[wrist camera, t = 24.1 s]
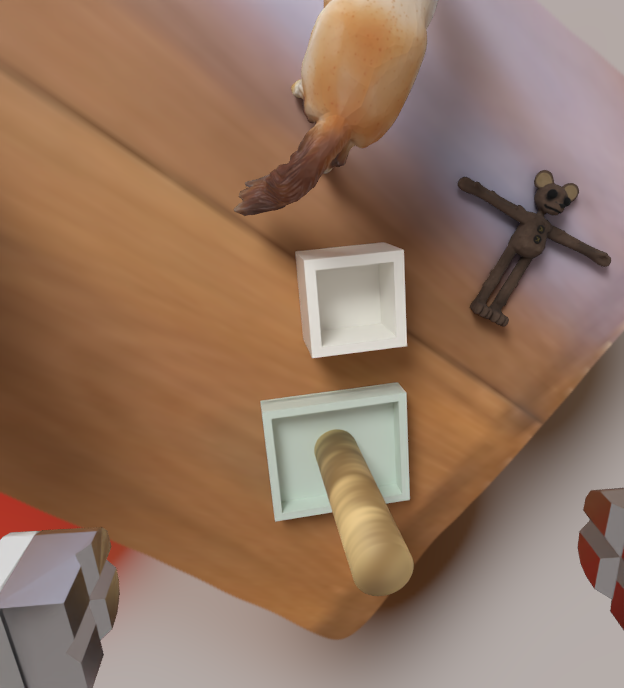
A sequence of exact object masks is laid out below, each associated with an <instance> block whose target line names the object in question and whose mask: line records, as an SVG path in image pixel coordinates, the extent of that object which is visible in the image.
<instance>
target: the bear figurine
mask: <svg viewBox="0 0 624 688" xmlns="http://www.w3.org/2000/svg"><path fill="white" fill-rule="evenodd" d="M534 184H535V186H536V187H537V188H538V190H537V192H536V194H535V197H534V200H535V203H536V206H537V208H538V213H537V214H536V213H533V212H528V211H526V210H525V209H524V208H523V207H522V206H520V205H518V206H517V205H515V204H513V203H511V202H509V201H507V200H506V199H504V198H502V197H500V196H499V195H497V194H496V193H495V192H494V191H490V190H488V189H487V188H485V187H484V186H482V185H481V184H480V183H479V182H475V181H473V180H471V179H469V178H467V177H463V178H461V179H460V180H459V181H458V187H459V188H460V189H461V190H463V191H465V192H467V193H470V194H473V195H475V196H477V197H479V198H481V199H483V200H485V201H486V202H488V203H489V204H491V205H493V206H494V207H496V208H497V209H499V210H500V211H502V212H503V213H505V214H507V215H508V216H510V217H511V218H513V219H515V220H516V221H518V222H520V224H519V226H518V227H517V228H516V231H515V232H514V234H513V235H512V237H511V238H510V241H509V243H508V246H507V248H506V249H505V251H504V253H503V254H502V256H501V258H500V259H499V261H498V263H497V264H496V266H495V268H494V269H493V270H492V271H491V272H490V276H489V277H488V279H487V280H486V281H485V283H484V284H483V287H482V289H481V291H480V292H479V294H478V296H477V297H476V298H475V300H474V301H473V302H472V303H471V305H470V308H471V309H472V311H473V312H474V313H475V314H478V315H480V316H481V317H484V318H486V319H489V320H491V321H492V322H495V323H496V324H498V325H501V326H503V327H504V326H506V325H507V324H508V321H509V319H508V317H506V316H505V315H503V313H502V312H501V309H502V307H503V306H505V305H506V303H507V300H508V298H509V296H510V294H511V293H512V291H513V290H514V288H516V287H517V285H518V282H519V280H520V278H521V277H522V275H523V273H524V272H525V270H526V269H527V267H528V265H529V264H530V262H531V261H532V259H533V258H535V257H537V256H538V255H540V254H541V253H542V251H543V249H544V248H545V244H546V239H547V238H549V239H551V240H553V241H555V242H557V243H559V244H562V245H564V246H566V247H568V248H571V249H573V250H575V251H577V252H579V253H581V254H583V255H585V256H587V257H589V258H590V259H591V260H593V261H594V262H595V263H597V264H598V265H600V266H603V267H607V266H609V265H610V263H611V258H610V257H609V256H608V254H607V253H605V252H603V251H600V250H598V249H595V248H593V247H591V246H589V245H587V244H585V243H583V242H581V241H580V240H578V239H576V238H574V237H572V236H571V235H569V234H567V233H566V232H565V231H564V230H561V229H559V228H557V227H554V226H553V225H552V224H551V223H550V222H549V221H548V220H547V219H545V218H544V215H545V214H546V213H548V214H550V215H558V214H559V213H562V212H563V210H564V208H565V207H567V206H569V205H570V203H571V202H572V201H574V200H575V199H576V197H577V196H578V193H579V189H578V187H577V185H575V184H573V183H568V184H566V185H564V186H563V187H561V186H559V185H556V184H555V183H554V180H553V176H552V173H551V172H549V171H547V170H543V171H540V172H539V173H538V174H537V175H536V177H535V181H534ZM516 253H517V254H519V255H521V258H520V260H519V261H518V263H517V264H516V266H515V268H514V269H513V271H512V272H511V274H510V276H509V277H508V279H507V280H506V282H505V284H504V285H503V287H502V288H501V290H500V292H499V293H498V295H497V296H496V298H495V300H494V301H493V303H492V304H491V306H490V307H487V305H486V302H487V300H488V298H489V296H490V295H491V293H492V291H493V290H494V288H495V287H496V286H497V285H498V283H499V281H500V279H501V277H502V275H503V273H504V272H505V270H506V268H507V267H508V265H509V264H510V262H511V260H512V259H513V257H514V255H515V254H516Z"/></svg>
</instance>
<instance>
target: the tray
mask: <svg viewBox="0 0 624 688" xmlns="http://www.w3.org/2000/svg"><path fill="white" fill-rule="evenodd" d="M260 402H261V411H262V419H263V427H264V435H265V443H266V451H267V460H268V468H269V476H270V484H271V492H272V501H273V509H274V516H275V521H281V520H288V519H294V518H300V517H306V516H312V515H319V514H325V513H331V512H332V509H331V506H330V502H329V499H328V496H327V493H326V489H325V486H324V483H323V480H322V477H321V473H320V470H319V467H318V464H317V461H316V457H315V454H314V447H315V444H316V442H317V440H318V439H319V437H320V436H321V435H323V434H324V433H326V432H328V431H330V430H335V429H340V430H344V431H347V432H348V433H350V434H351V435H352V436H353V437H354V439H355V441H356V443H357V445H358V447H359V449H360V451H361V453H362V455H363V457H364V459H365V461H366V464H367V466H368V468H369V470H370V472H371V474H372V476H373V478H374V480H375V482H376V484H377V486H378V488H379V490H380V492H381V494H382V496H383V499H384V501H385V503H386V504H387V503H393V502H399V501H405V500H410V489H409V459H408V428H407V398H406V392H405V390H404V389H403V388H402V387H401V386H400V384H399V383H398V382H396V383H389V384H381V385H374V386H367V387H359V388H352V389H344V390H337V391H330V392H322V393H315V394H307V395H300V396H292V397H285V398H278V399H270V400H263V401H260Z"/></svg>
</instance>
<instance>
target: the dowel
mask: <svg viewBox="0 0 624 688" xmlns="http://www.w3.org/2000/svg"><path fill="white" fill-rule="evenodd" d="M314 454H315V457H316V461H317V464H318V467H319V470H320V473H321V477H322V480H323V483H324V486H325V489H326V493H327V496H328V499H329V502H330V506H331V509H332V512H333V515H334V518H335V522H336V525H337V528H338V531H339V534H340V538H341V541H342V544H343V547H344V551H345V554H346V557H347V560H348V563H349V567H350V570H351V573H352V576H353V580H354V582H355V584H356V586H357V587H358V588H359V589H360V590H361V591H362V592H364V593H366V594H369V595H372V596H384V595H389V594H392V593H394V592H396V591H397V590H399V589H401V588H402V587H403V586H404V585H405V584H406V583H407V582H408V581H409V579H410V577H411V575H412V572H413V568H414V564H413V559H412V556H411V554H410V552H409V550H408V548H407V546H406V544H405V542H404V540H403V538H402V536H401V534H400V531H399V529H398V527H397V525H396V523H395V521H394V519H393V517H392V515H391V513H390V511H389V509H388V507H387V505H386V503H385V501H384V499H383V496H382V494H381V492H380V490H379V488H378V486H377V484H376V482H375V480H374V478H373V476H372V474H371V472H370V470H369V468H368V466H367V464H366V461H365V459H364V457H363V455H362V453H361V451H360V449H359V447H358V445H357V443H356V441H355V439H354V437H353V436H352V435H351V434H350V433H348V432H347V431H344V430H340V429H335V430H330V431H328V432H326V433H324V434H323V435H321V436H320V437H319V439H318V440H317V442H316V444H315V447H314Z"/></svg>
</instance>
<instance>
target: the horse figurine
mask: <svg viewBox="0 0 624 688" xmlns="http://www.w3.org/2000/svg"><path fill="white" fill-rule="evenodd" d="M437 2H438V0H324V9H323V10H322V12H321V13H320V14H319V16H318V18H317V20H316V23H315V25H314V28H313V30H312V33H311V37H310V40H309V44H308V48H307V51H306V54H305V57H304V60H303V62H302V69H301V77H302V79H300V80H297V82H295V83H294V84H293V85H292V87H291V91H292V93H293V95H294V96H296V97H298V98H302V99H303V112H304V114H305V115H306V117H307V119H308V121H309V122H310V123H314V122H316V125H315V126H314V127H313V128H312V129H310V130H309V131H308V132H307V133H306V135H305V137H304V139H303V140H302V142H301V143H300V145H299V147H298V151H296V152H295V153H293V154H292V155H291V156H290V161H289V163H288V164H282V165H279V167H278V168H277V169H275V170H273V171H272V172H271V173H270V174H269V175H267V176H265V177H262V178H260V179H256V180H252V181H247V182H245V185H246V186H248V187H249V188H246V189H244V190H243V191H241V192H240V193H239V197H240V198H241V199H242V200H243V202H242V203H240V204H239V205H237V206H236V207H235V208H234V211H235V212H237V213H240V214H242V215H244V216H246V215H255V214H259V213H263V212H268V211H272V210H278V209H281V208H283V207H285V206H286V205H288V204H291V203H293V202H297V201H298V200H299V199H300V198H302V197H303V196H304V195H306V194H307V193H308V192H309V191H310V190H311V189H312V188H314V187H315V185H316V184H317V182H318V180H319V178H320V177H321V175H322V174H323V173H328V172H330V171H331V170H332V168H333V167H335V166H336V167H339V166H343V165H344V164H345V163H346V159H347V157H348V153H349V151H350V149H351V148H352V147H353V146H355V145H356V146H357V147H359V148H365V147H367V146H369V145H370V144H372V143H374V142H376V141H378V140H379V139H380V138H381V137H382V136H383V135H384V134H385V133H386V132H387V131H388V130H389V128H390V127H391V126H392V125H393V123H394V122H395V120H396V118H397V117H398V115H399V113H400V111H401V109H402V107H403V105H404V103H405V101H406V99H407V97H408V95H409V93H410V90H411V88H412V86H413V84H414V81H415V79H416V76H417V74H418V71H419V69H420V66H421V63H422V61H423V58H424V54H425V51H426V46H427V31H426V29H427V27H428V26H429V24H430V22H431V20H432V18H433V15H434V12H435V10H436V6H437Z"/></svg>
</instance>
